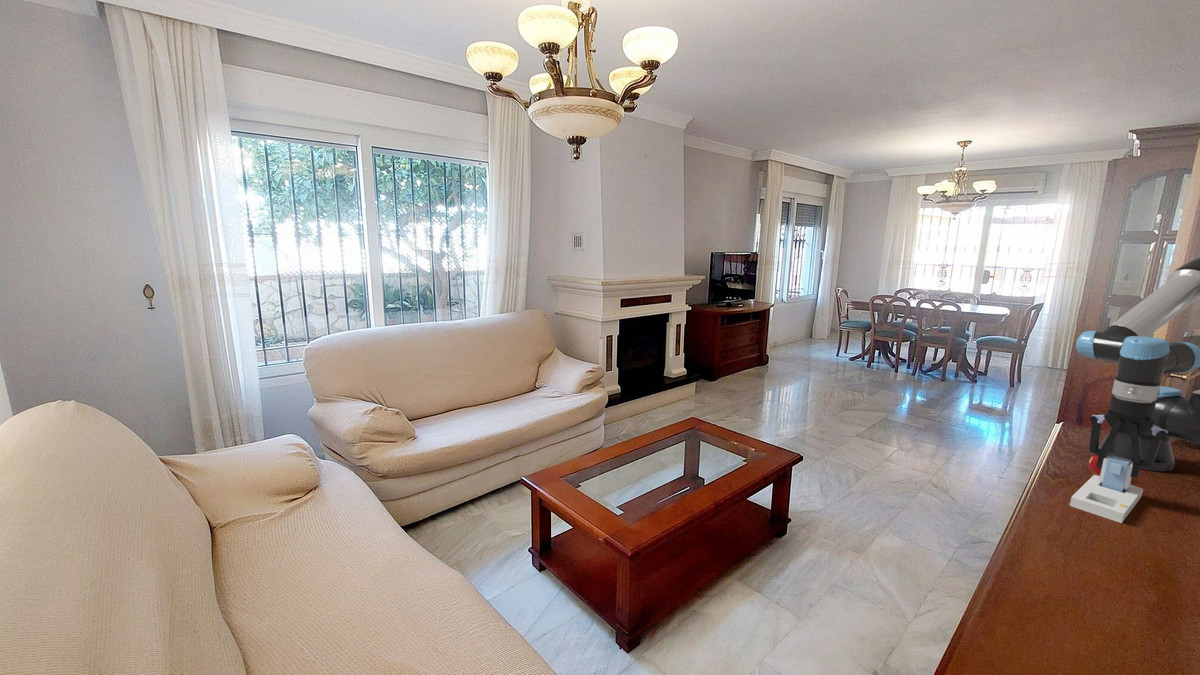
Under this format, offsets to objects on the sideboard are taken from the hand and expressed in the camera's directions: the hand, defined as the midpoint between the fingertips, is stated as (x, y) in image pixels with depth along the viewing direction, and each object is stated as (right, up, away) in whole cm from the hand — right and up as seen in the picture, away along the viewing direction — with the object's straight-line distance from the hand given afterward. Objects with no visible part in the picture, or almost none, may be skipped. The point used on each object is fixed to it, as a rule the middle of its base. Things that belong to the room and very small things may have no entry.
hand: (1114, 483), depth 122 cm
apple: (+8, -2, +11) cm, 14 cm away
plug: (0, -3, +1) cm, 3 cm away
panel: (-5, -4, -2) cm, 7 cm away
